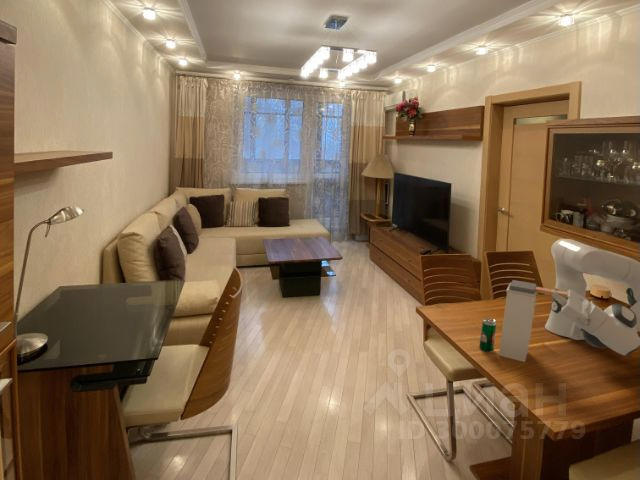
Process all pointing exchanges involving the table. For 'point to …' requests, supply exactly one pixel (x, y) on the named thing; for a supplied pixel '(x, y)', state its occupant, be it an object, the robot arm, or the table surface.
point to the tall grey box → (517, 324)
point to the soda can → (488, 335)
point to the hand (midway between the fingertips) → (553, 291)
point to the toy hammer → (533, 288)
